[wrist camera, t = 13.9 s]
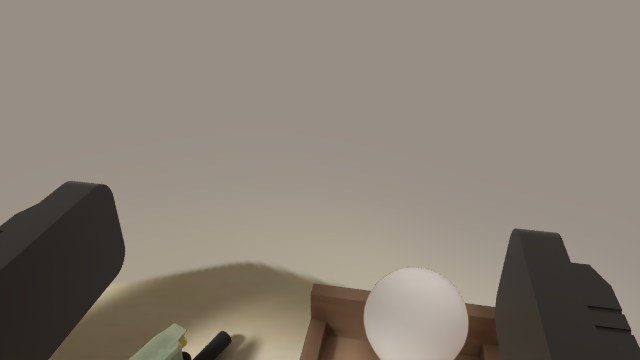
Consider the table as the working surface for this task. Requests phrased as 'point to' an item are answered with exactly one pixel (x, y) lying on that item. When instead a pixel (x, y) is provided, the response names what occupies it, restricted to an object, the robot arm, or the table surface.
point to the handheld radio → (179, 346)
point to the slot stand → (350, 336)
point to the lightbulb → (415, 316)
